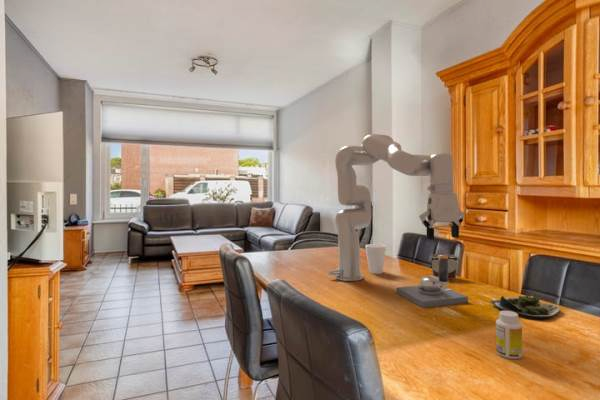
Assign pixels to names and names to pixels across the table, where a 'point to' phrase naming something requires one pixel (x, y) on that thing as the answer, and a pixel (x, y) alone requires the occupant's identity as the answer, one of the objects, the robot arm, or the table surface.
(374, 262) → the foam cup
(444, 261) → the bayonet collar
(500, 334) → the supplement bottle
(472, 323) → the table surface
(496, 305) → the salad plate
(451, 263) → the food container
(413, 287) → the post base
